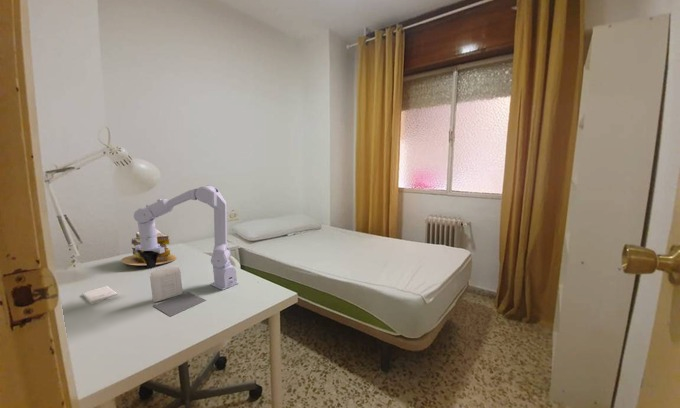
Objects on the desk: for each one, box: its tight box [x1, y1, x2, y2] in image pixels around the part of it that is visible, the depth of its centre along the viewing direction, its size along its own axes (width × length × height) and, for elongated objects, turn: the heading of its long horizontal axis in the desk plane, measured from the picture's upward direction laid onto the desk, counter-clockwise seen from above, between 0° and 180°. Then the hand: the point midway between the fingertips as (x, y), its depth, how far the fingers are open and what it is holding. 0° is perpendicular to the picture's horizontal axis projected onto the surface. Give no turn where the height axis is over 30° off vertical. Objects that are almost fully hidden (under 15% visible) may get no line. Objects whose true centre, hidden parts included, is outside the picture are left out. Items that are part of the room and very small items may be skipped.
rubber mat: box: [152, 291, 207, 318], centre depth 100 cm, size 13×13×1 cm
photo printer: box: [149, 265, 184, 303], centre depth 104 cm, size 10×4×12 cm, turn 134°
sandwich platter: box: [120, 228, 177, 266], centre depth 144 cm, size 25×25×17 cm
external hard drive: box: [81, 285, 119, 305], centre depth 107 cm, size 2×8×12 cm
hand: (151, 267), depth 110 cm, fingers closed
